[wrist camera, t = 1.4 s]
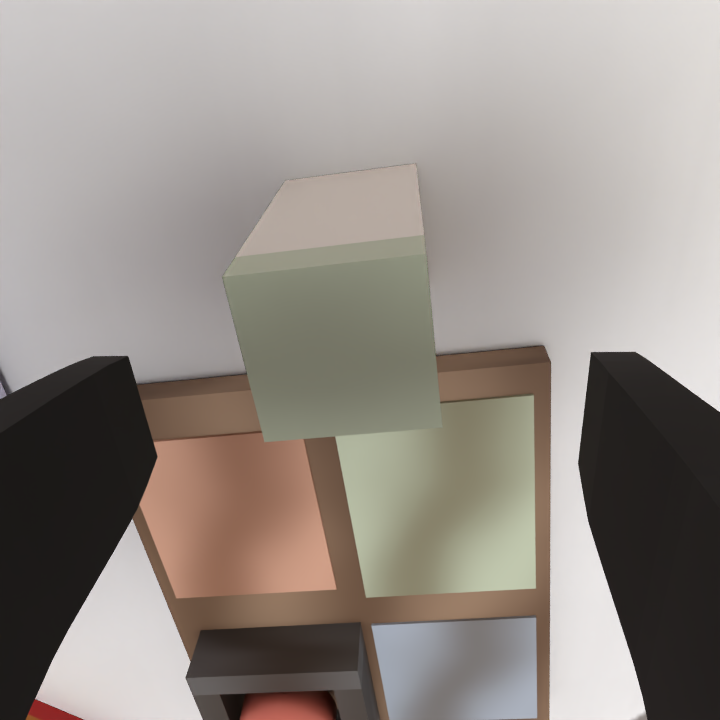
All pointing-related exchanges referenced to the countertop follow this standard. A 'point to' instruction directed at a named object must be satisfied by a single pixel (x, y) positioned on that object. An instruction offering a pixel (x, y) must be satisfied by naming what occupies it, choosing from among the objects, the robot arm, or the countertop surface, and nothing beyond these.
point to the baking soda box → (48, 713)
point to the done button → (289, 706)
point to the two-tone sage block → (338, 308)
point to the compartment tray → (360, 548)
